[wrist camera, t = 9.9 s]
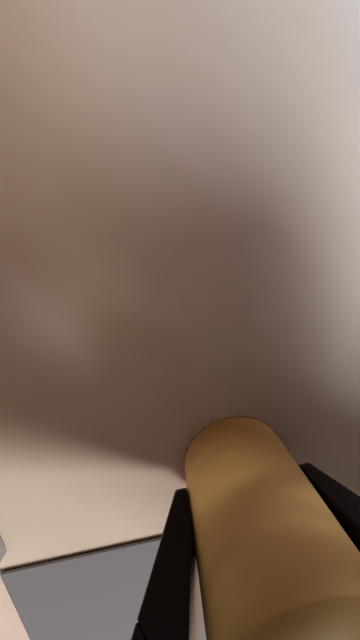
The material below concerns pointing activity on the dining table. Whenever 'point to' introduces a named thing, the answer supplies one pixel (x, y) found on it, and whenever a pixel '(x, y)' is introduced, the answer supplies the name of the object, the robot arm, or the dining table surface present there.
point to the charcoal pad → (84, 593)
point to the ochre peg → (266, 541)
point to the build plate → (2, 550)
